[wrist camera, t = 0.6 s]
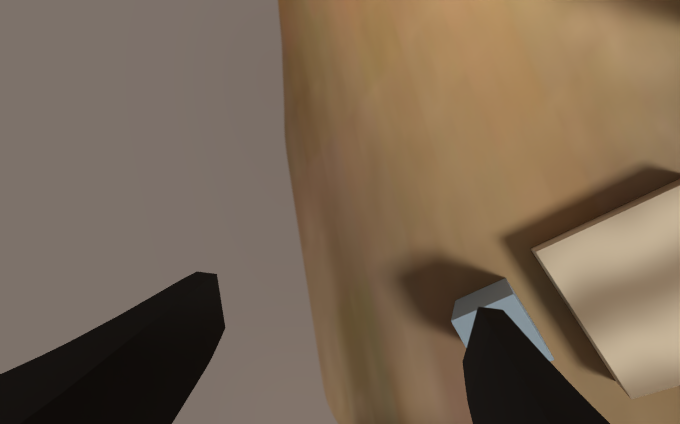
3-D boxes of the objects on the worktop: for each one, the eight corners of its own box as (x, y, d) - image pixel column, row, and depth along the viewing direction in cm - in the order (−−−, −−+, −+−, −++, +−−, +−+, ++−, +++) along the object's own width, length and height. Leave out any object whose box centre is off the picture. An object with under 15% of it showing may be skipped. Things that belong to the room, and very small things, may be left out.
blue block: (537, 328, 26) (554, 359, 20) (483, 349, 27) (486, 383, 22) (505, 277, 27) (513, 293, 21) (455, 300, 28) (451, 321, 23)
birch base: (805, 323, 20) (847, 336, 18) (616, 381, 24) (631, 399, 22) (687, 175, 23) (712, 170, 20) (530, 248, 26) (535, 252, 24)
